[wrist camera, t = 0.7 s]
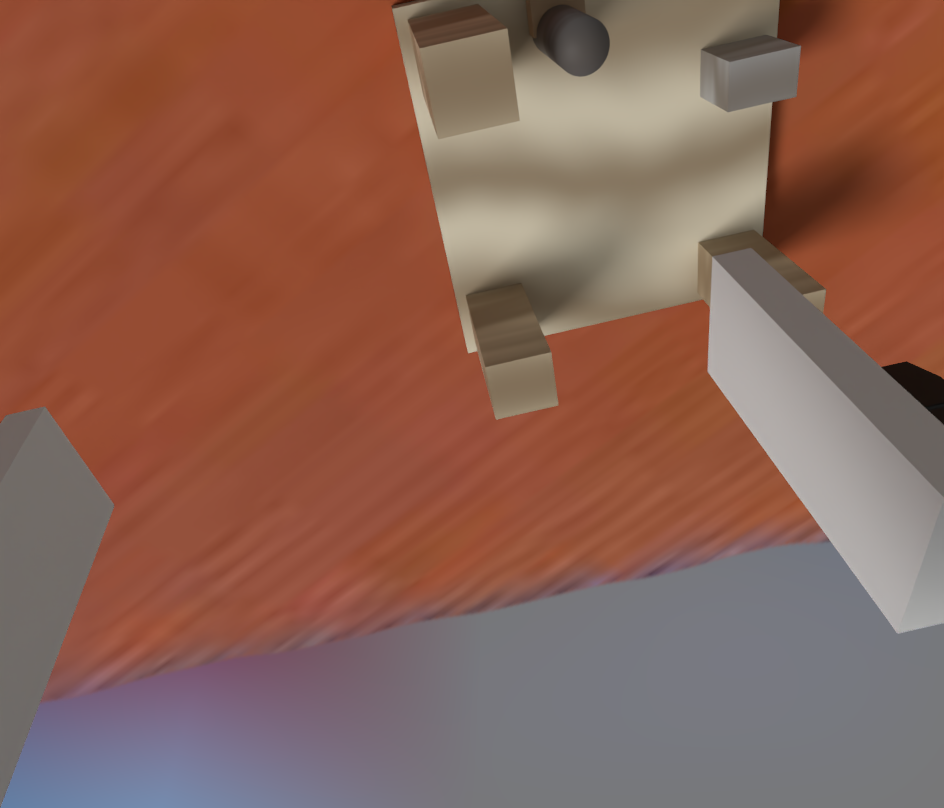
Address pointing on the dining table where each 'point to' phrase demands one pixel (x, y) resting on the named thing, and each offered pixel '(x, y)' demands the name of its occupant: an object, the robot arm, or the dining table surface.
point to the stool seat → (592, 166)
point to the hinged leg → (568, 35)
